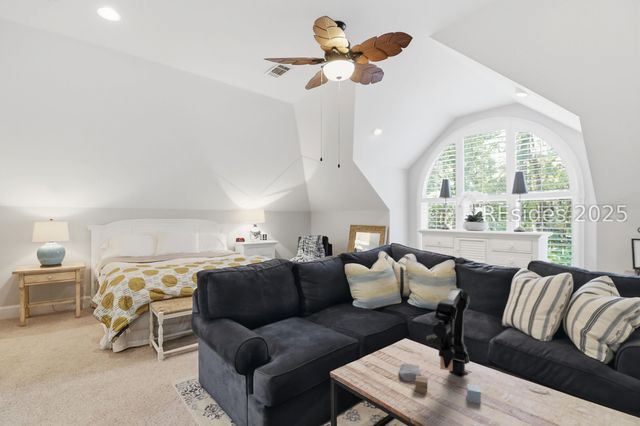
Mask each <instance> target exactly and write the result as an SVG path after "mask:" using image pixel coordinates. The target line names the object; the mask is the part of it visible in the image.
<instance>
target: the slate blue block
mask: <svg viewBox="0 0 640 426" xmlns="http://www.w3.org/2000/svg"><path fill="white" fill-rule="evenodd" d="M466 397H467V398H466V399H467V402H470V403H474V404H479V405H480V404H481V403H482V400H481V399H482V391H481V387H480V386H479V385H475V384H474V385H472V384H470V383H469V384H468V383H467V384H466Z"/></svg>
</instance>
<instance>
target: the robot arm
mask: <svg viewBox="0 0 640 426" xmlns="http://www.w3.org/2000/svg"><path fill="white" fill-rule="evenodd" d="M470 299H471V298H470V295H469V293H467V292H465V291H464V290H463V289H462V288H455V287H453V288H450V292H449V294H448V295H447V297H446V298H445V299H441V300H439V302H438V303H437V304H436V305H437V306H436V310H435V314H434V319H437V322H436V324H435V325H434V326H433V328H432V331H433V334H429V335H426V341H427V342H426V344H428V346H429V347H432V346H434V345H438V346H439V348H438V356H439V358H440V357H443V360H444V365H445V368H448V366H449V364H450V362H451V360H452V359H453V366H452V371H450V370H448V371H449V373H452V374H454V375H456V376H458V377H463V376H465V375H467V374H468V371H467V370H466V365H467V364H470V358H469V357H470V356H469V354H468V351H467V346H466V344H465V342H464V331H465V330H464V328H465V312H466V310H467V309H468V307H469V305H470V303H471V302H470V301H471V300H470Z"/></svg>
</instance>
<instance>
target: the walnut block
mask: <svg viewBox="0 0 640 426" xmlns="http://www.w3.org/2000/svg"><path fill="white" fill-rule="evenodd" d="M414 383H415V393H416V392H418V393H422V394H428V387H429V386H428V385H429V384H428V377H427V376H424V375H423V376H422V375H421V376H417V375H416V380H415V381H414Z"/></svg>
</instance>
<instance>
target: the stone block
mask: <svg viewBox="0 0 640 426" xmlns="http://www.w3.org/2000/svg"><path fill="white" fill-rule="evenodd" d="M416 375H417V376H422V375H421V370H420V365H416V364H414V363H405V364H401V365H400V368H399V376H400V377H401V379H402V380H403V381H406V382H415V380H416Z"/></svg>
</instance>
